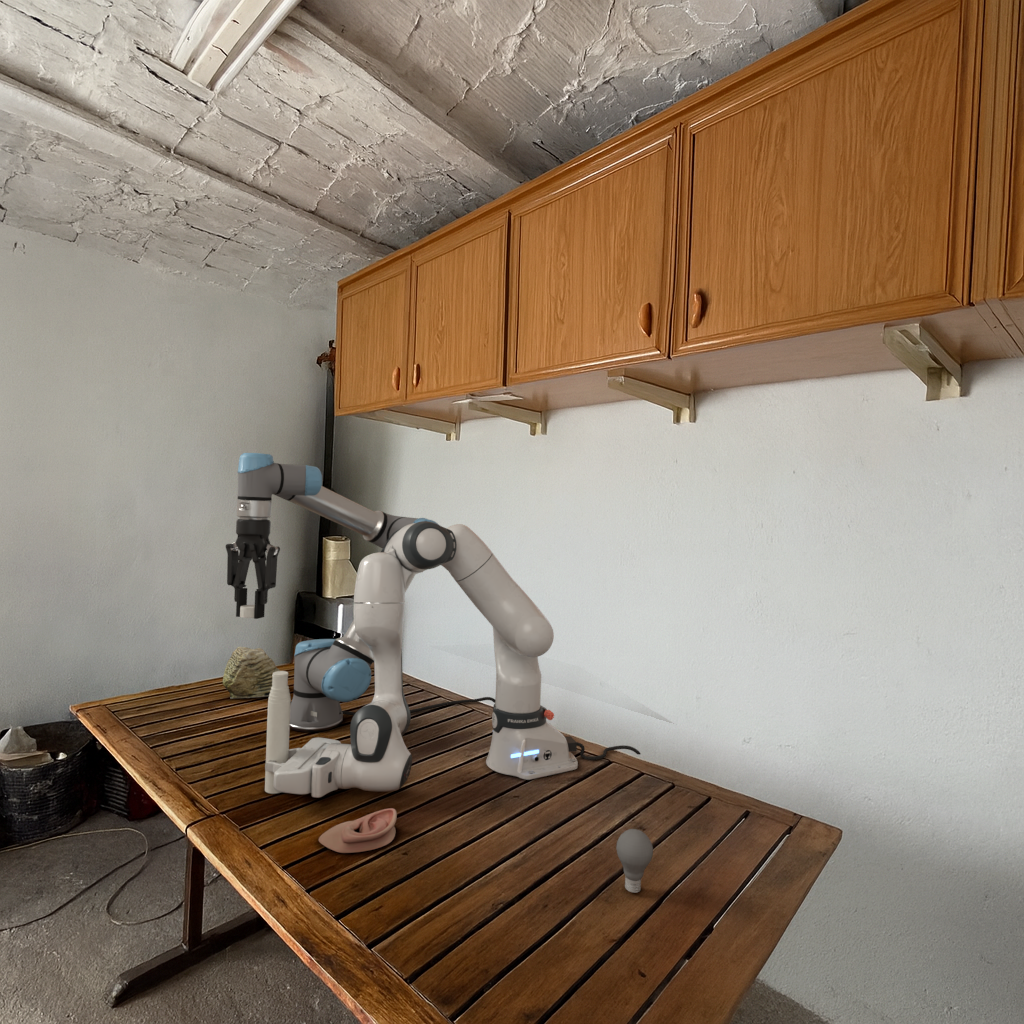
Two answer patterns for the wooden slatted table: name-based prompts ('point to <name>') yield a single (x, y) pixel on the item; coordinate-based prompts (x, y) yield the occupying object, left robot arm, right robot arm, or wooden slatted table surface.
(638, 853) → the light bulb
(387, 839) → the anatomical model
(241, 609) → the cap
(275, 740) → the bottle
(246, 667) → the fossil
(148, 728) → the wooden slatted table surface
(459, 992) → the wooden slatted table surface
